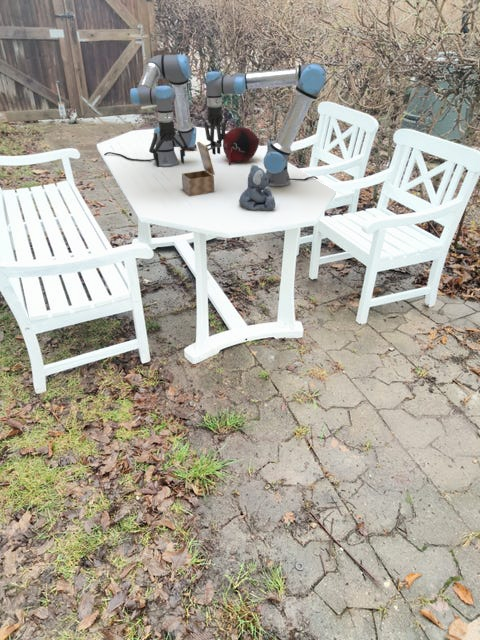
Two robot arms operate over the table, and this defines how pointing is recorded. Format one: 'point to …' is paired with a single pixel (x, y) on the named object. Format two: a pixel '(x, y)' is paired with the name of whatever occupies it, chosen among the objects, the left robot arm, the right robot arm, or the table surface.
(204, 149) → the lid
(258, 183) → the koala plush
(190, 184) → the chest
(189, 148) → the rock
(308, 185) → the table surface
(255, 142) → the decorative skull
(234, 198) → the table surface
